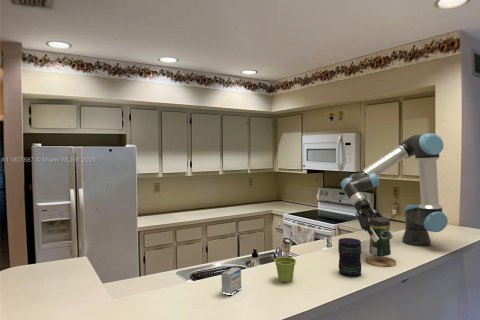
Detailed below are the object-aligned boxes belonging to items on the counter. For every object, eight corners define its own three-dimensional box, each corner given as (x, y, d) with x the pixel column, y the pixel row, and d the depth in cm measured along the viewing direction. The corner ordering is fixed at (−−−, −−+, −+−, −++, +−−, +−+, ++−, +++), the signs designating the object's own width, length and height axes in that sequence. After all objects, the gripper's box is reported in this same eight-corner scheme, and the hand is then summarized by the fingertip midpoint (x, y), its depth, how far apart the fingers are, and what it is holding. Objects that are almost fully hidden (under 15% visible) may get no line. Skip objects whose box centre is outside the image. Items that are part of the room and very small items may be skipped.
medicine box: (231, 297, 124) (230, 274, 124) (221, 294, 126) (221, 272, 126) (241, 289, 131) (241, 268, 130) (232, 287, 133) (232, 266, 133)
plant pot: (282, 286, 133) (282, 265, 133) (270, 278, 141) (270, 259, 141) (300, 281, 137) (300, 261, 137) (287, 274, 146) (287, 255, 145)
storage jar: (345, 268, 153) (344, 236, 153) (365, 273, 146) (364, 240, 146) (334, 273, 146) (334, 240, 146) (355, 279, 139) (354, 245, 139)
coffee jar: (381, 251, 165) (381, 215, 165) (393, 255, 158) (393, 218, 158) (366, 253, 162) (366, 216, 162) (377, 257, 155) (377, 219, 155)
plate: (382, 256, 169) (382, 254, 169) (402, 265, 155) (402, 263, 155) (359, 259, 165) (359, 256, 165) (377, 268, 152) (377, 265, 152)
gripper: (371, 205, 178) (396, 240, 164) (340, 208, 169) (363, 246, 155) (379, 197, 173) (405, 232, 159) (347, 199, 164) (372, 237, 150)
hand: (384, 239), depth 157 cm, fingers closed on coffee jar, 9 cm apart
